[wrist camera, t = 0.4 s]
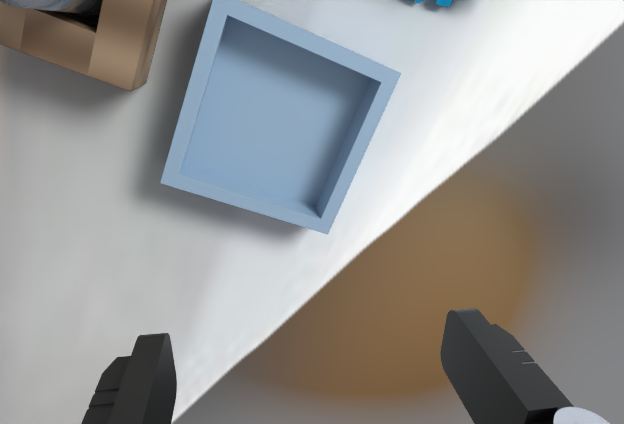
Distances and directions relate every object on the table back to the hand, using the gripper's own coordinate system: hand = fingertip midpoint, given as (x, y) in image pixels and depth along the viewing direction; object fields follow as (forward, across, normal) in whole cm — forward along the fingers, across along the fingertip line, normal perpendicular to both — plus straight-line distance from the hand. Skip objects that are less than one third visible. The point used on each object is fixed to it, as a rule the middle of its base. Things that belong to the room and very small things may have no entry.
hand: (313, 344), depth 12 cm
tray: (+28, -1, -1) cm, 28 cm away
